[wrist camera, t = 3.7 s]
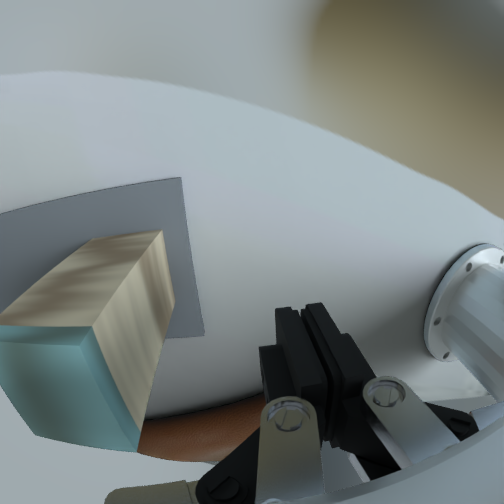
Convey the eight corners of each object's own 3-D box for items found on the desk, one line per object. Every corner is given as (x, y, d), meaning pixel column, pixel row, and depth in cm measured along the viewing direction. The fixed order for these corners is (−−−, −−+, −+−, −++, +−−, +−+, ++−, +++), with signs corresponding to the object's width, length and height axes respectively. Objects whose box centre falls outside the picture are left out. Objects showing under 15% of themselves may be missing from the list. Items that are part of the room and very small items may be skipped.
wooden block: (162, 229, 18) (79, 345, 7) (175, 301, 20) (136, 452, 8) (92, 238, 18) (-25, 338, 6) (109, 305, 19) (35, 435, 8)
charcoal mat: (181, 177, 18) (179, 177, 17) (204, 331, 21) (204, 335, 21) (-29, 222, 16) (-33, 224, 16) (7, 334, 20) (4, 337, 19)
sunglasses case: (170, 461, 27) (148, 488, 20) (146, 409, 28) (116, 429, 22) (324, 423, 26) (334, 451, 20) (303, 365, 28) (309, 381, 21)
